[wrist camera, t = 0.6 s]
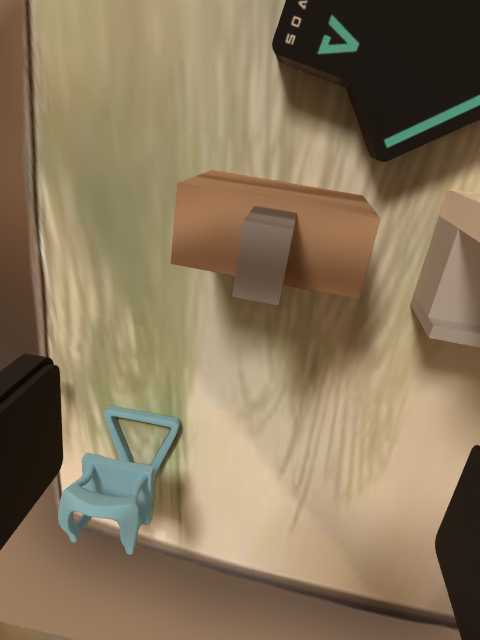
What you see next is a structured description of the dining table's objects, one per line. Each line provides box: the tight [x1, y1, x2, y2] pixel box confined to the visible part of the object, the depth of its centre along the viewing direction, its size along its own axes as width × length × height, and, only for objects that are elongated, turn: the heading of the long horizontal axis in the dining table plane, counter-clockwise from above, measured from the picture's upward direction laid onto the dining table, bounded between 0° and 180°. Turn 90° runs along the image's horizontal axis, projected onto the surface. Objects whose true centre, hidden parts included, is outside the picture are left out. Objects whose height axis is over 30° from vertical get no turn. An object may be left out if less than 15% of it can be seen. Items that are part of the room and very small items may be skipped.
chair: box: [58, 406, 180, 555], centre depth 42 cm, size 8×8×12 cm
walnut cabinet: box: [171, 170, 380, 306], centre depth 30 cm, size 5×12×15 cm, turn 82°
